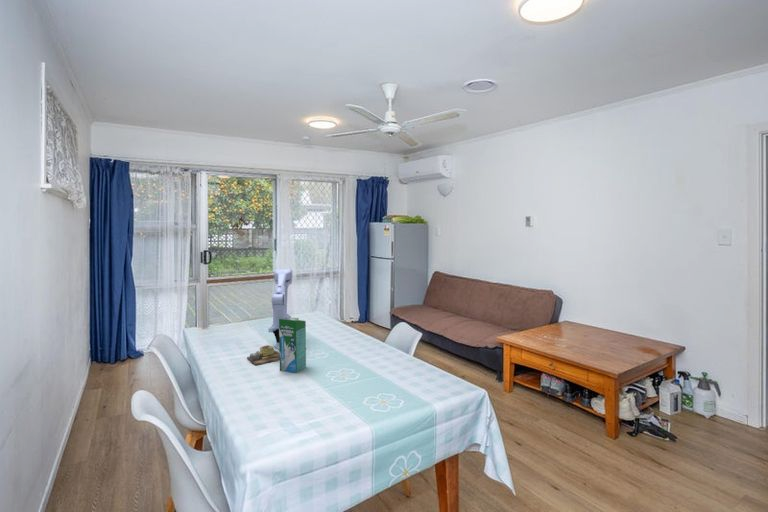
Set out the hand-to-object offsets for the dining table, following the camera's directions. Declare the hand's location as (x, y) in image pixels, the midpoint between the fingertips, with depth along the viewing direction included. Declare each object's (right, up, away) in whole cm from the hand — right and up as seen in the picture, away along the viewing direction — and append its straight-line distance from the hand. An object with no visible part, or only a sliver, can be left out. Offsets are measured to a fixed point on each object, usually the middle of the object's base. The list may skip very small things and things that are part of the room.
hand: (279, 342), depth 206 cm
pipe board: (-5, -8, -4) cm, 10 cm away
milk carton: (+11, -9, -16) cm, 22 cm away
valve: (-5, -7, -4) cm, 9 cm away
